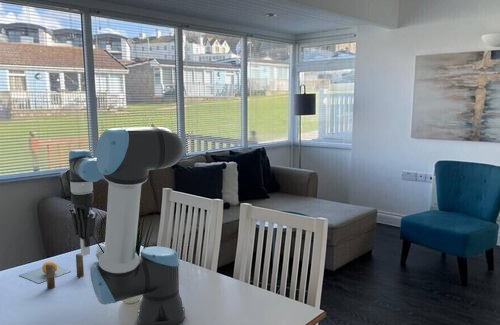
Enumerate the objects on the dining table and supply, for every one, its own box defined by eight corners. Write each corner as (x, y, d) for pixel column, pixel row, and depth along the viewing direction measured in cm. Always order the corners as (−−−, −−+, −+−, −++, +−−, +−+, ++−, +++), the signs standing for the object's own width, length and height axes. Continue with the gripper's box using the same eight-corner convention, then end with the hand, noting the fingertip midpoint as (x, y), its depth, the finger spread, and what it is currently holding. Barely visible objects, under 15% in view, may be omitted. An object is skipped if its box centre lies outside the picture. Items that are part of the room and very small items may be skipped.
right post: (85, 275, 165) (84, 254, 164) (79, 277, 163) (78, 256, 162) (81, 274, 167) (80, 252, 165) (75, 276, 165) (74, 254, 163)
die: (110, 267, 175) (120, 246, 179) (91, 259, 173) (102, 238, 177) (108, 267, 183) (118, 247, 186) (90, 259, 180) (101, 239, 184)
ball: (51, 261, 170) (55, 273, 169) (37, 265, 166) (42, 278, 165) (56, 257, 167) (61, 269, 166) (43, 261, 163) (48, 274, 162)
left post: (56, 286, 155) (54, 264, 154) (49, 289, 153) (48, 266, 151) (52, 285, 156) (50, 262, 155) (45, 287, 154) (44, 265, 153)
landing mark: (71, 271, 169) (71, 271, 169) (38, 283, 157) (38, 283, 157) (51, 264, 177) (51, 263, 177) (18, 275, 165) (18, 275, 165)
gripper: (102, 192, 147) (105, 254, 151) (80, 188, 154) (83, 248, 157) (84, 196, 141) (88, 261, 144) (61, 191, 148) (65, 254, 151)
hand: (85, 254), depth 151 cm, fingers closed
